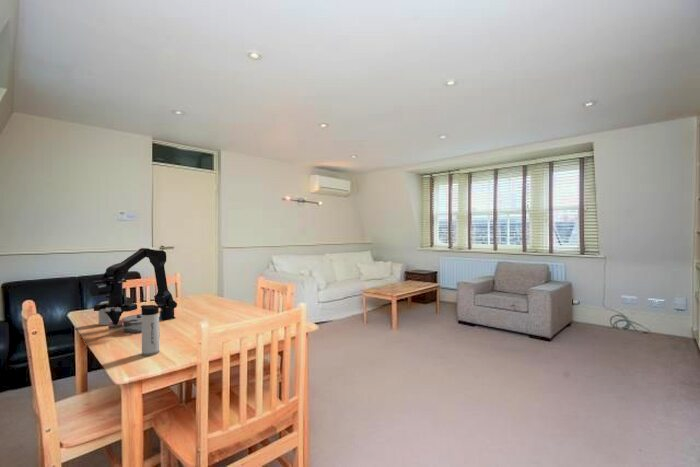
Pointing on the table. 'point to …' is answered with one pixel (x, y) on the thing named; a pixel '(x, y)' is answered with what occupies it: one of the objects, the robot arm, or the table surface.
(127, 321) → the lid
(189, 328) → the table surface
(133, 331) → the pot
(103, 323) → the can
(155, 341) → the travel mug
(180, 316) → the table surface
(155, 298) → the robot arm
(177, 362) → the table surface
